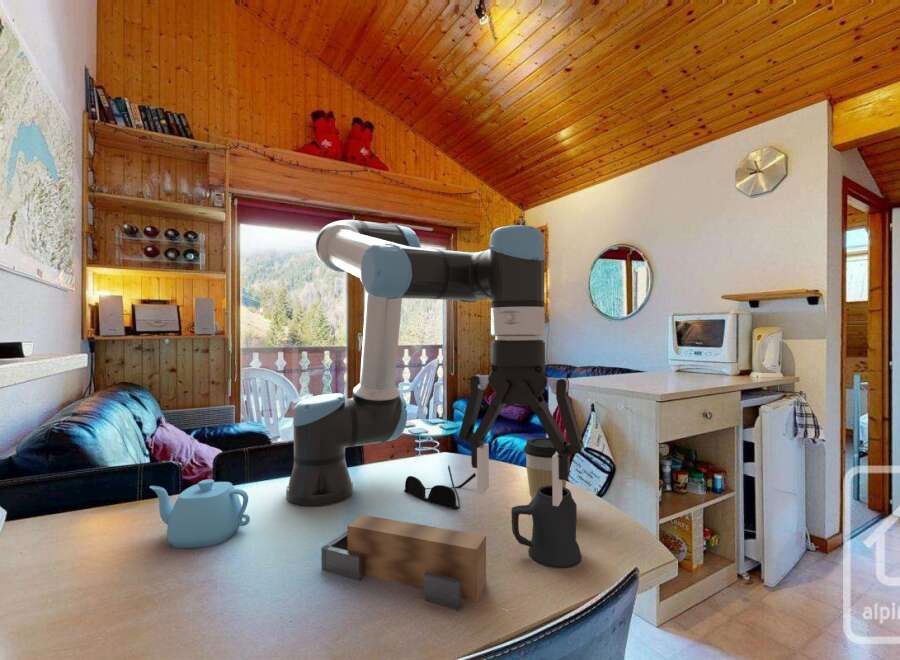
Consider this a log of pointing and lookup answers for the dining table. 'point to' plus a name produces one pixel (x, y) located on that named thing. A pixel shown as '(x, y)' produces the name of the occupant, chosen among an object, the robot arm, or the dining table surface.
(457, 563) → the walnut slat
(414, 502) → the dining table surface
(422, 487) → the sunglasses
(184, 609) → the dining table surface
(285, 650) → the dining table surface
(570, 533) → the mug
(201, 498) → the teapot
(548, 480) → the coffee cup
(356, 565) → the slat support bracket
